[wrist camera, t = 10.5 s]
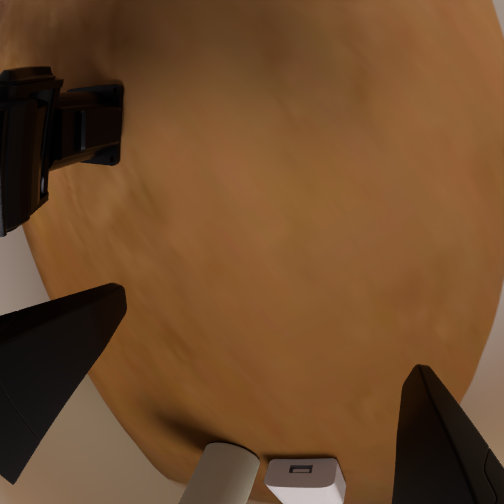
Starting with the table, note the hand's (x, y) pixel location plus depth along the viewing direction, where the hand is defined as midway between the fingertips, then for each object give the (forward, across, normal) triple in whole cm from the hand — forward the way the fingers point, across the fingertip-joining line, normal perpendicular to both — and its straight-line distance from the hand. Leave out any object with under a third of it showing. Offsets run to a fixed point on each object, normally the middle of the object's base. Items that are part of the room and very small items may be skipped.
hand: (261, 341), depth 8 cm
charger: (+14, -11, +38) cm, 42 cm away
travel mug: (+13, +2, +36) cm, 38 cm away
